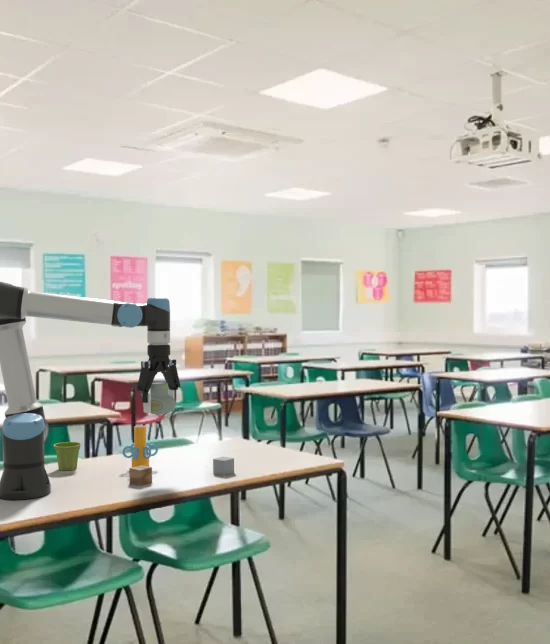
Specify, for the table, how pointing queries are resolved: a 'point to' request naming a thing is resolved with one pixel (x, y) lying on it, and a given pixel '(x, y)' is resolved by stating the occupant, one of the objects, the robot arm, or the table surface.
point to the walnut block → (140, 475)
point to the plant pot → (67, 455)
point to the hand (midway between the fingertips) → (159, 410)
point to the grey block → (223, 466)
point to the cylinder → (140, 448)
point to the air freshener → (161, 399)
